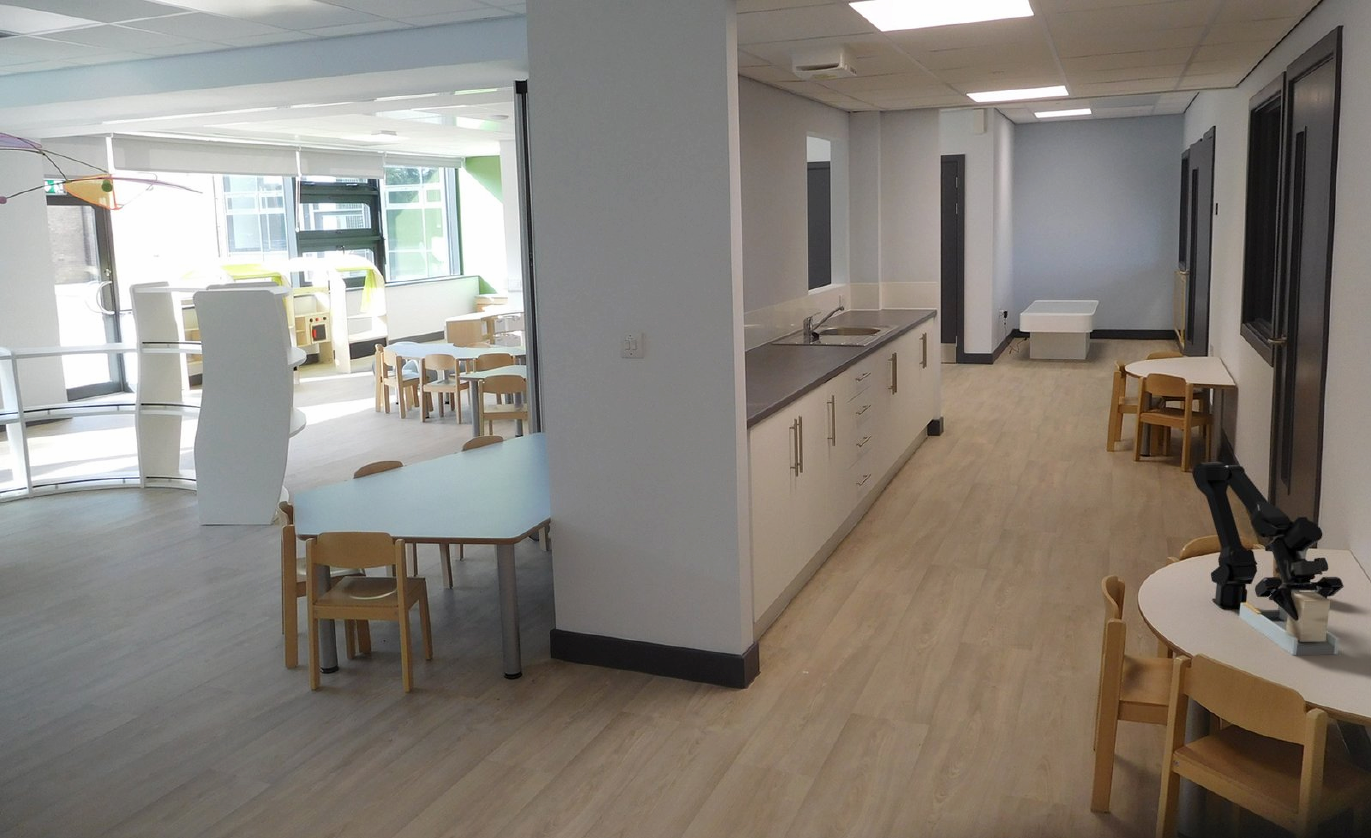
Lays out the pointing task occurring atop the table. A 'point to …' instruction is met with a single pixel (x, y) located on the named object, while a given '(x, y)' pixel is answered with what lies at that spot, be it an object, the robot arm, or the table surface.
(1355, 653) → the table surface
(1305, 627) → the beech block
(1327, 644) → the channel
